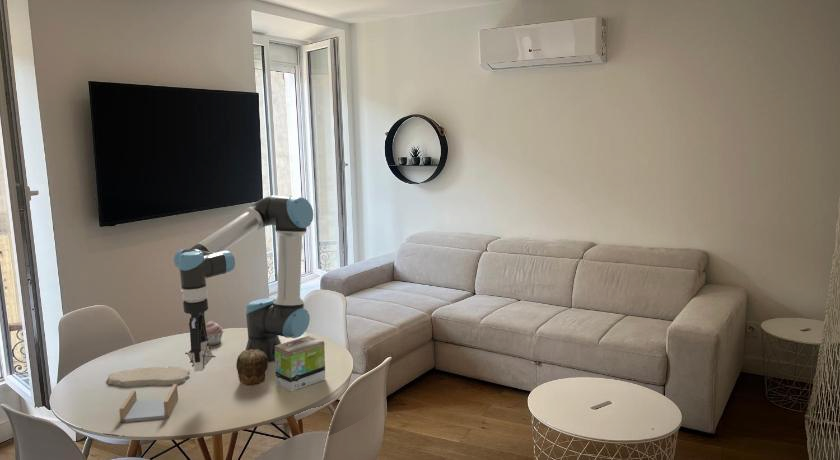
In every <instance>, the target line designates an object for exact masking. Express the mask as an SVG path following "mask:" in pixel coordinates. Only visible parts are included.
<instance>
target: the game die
mask: <svg viewBox="0 0 840 460" xmlns="http://www.w3.org/2000/svg"><path fill="white" fill-rule="evenodd" d="M209 346H210V345H209V343H207V345H205V344H201V351H202V358H203V369H205V366H206V365H207V364H208V363H209V362H210V361H211V359H212V358H216V357H217V356H216V355H214V354H213V352H212V351H211V347H209ZM190 351H191V349H190V350H189V351H188V352H185V355H188V357H189V360H190V361H189V363H190V364H192V365H191V367H192V368H194V361H193V353H190Z"/></svg>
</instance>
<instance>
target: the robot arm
mask: <svg viewBox="0 0 840 460" xmlns="http://www.w3.org/2000/svg"><path fill="white" fill-rule="evenodd" d="M313 220H314V210H313V207H312V204H311V203H310V202H309V199H306V198H305V197H303V196H296V195H292V196H291V195H276V194H275V195H270V196H265V197H264V198H261V199H259V200H258V201H256V202H254V203H252V204H250V205H249V206H247V207H246V208H244V210H243V212H242V213H241V215H239V216H237V217H236V218H235V219H233V220H231V221H230V222H228V223H226V224H225V225H224V226H222V227H221V228H219V229H217V230H216V231H214V232H213V233H211V234H210V235H209V236H207V237H205V238H203V239H202V240H201V241H200V242H198V243H196V244H195V245H193V246H192V247H190V248H180V249H179V250H177V251H176V253H175V254H174V257H173V263H174V265H175V267H176V268H177V269H178V270H179V273H180V275H179V276H180V284H181V290H179V291H180V294H182V300H183V302H182V306H183V313H185V314H187V315H188V314H189V315H190V318H189V322H188V325H189V340H190V341H189V342H190V350H191V351H190V350H189V351H190V353H193V361H194V366H193V368H194V369H193V370H194V372H203V371H204V369H205V368H204V369H203V358H202V351H201V344H205V345H207V344H206V342H205V341H208V340H209V338H206V337H207V332H206V319H205V318H206V317H205V312H206V311H208V310H209V303H208V299H207V298H208V289H207V279H209V278H213V277H216V276H220V275H225V274H227V273H229V272H232V271H234V269H235V267H236V259H235V256H234V255H233V253H232V252H231V251H230V250H228V249H229V248H231V247H232V246H233V245H235V244H237V243H238V242H240V241H241V240H242V239H244V238H245V237H246V236H249V235H250V233H252V232H254V231H260V230H261V229H263V228H264V227H268V226H275V230H274V232H275V233H277V235H278V237H279V238H278V262H277V263H278V264H277V269H278V271H277V294H276V295H277V297H276V298H273V297H269V298H268V297H267V298H260V299H256V300H252V301H250V302H248V303H247V305H246V312H245V315H246V327H247V329H246V330H247V342H246V347H245V350H250V349H252V350H256V349H258V350H260V351H262V352H264V353H265V354H266V356H267V359H268V363H271V362H275V346H276V345H279V344H282V342H281V339H280V337H284V338H287V339H289V338H291V339H299V338H301V336H302V335H304V334H305V332H306V331H307V329H308V327H309V324H310V319H311V318H310V313H309V311H308V310H307V309H305V306H304V305H305V304H304V303H305V301H303V299H302V298H301V280H302V279H301V278H302V277H301V275H302V249H303V236H304V235H305V234H306V233H307V228H308V227H310V225H312V223H313ZM279 336H280V337H279Z"/></svg>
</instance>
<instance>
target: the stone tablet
mask: <svg viewBox="0 0 840 460" xmlns="http://www.w3.org/2000/svg"><path fill="white" fill-rule="evenodd" d="M190 371H191V370H189V369H186V368H183V367H181V366H179V367H177V366H168V367H165V366H162V367H160V366H159V367H158V366H156V367H155V366H153V367H138V368H133V369H126V370H121V371H118V372H111V373H109V375H108V376H107V383H108V385H115V386H119V387H130V388H131V387H141V386H149V385H152V386H173V384H177V385H181V384H183V383H186V380H188V379H190V374H191V372H190Z"/></svg>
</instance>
